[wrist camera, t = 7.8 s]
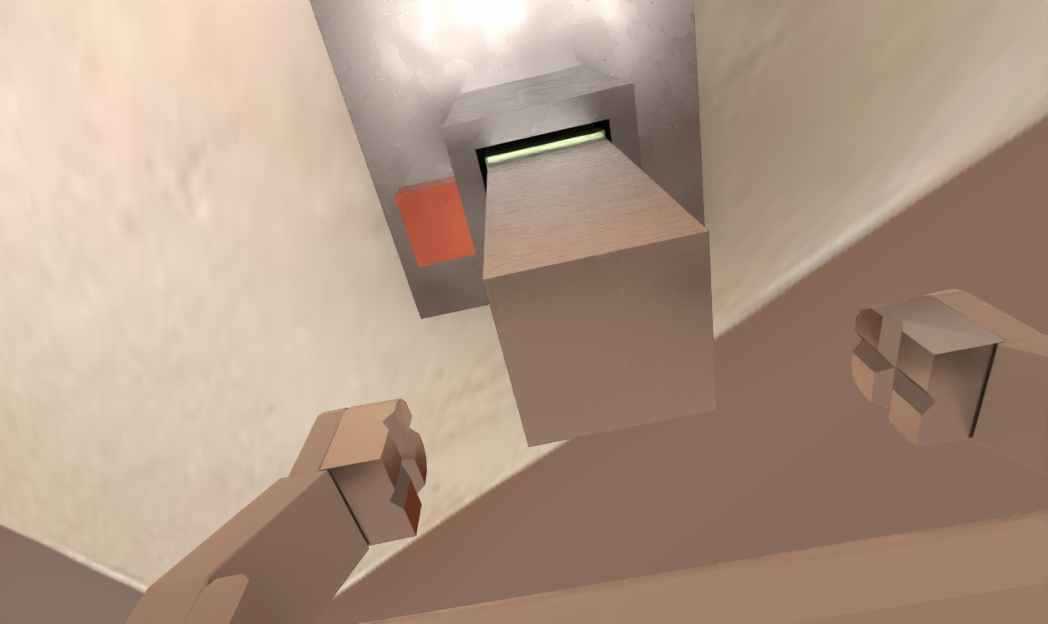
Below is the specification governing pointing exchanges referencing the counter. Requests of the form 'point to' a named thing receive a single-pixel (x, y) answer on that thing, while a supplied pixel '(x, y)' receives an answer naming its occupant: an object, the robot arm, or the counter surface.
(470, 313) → the counter surface
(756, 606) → the robot arm
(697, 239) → the block
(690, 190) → the jack base
